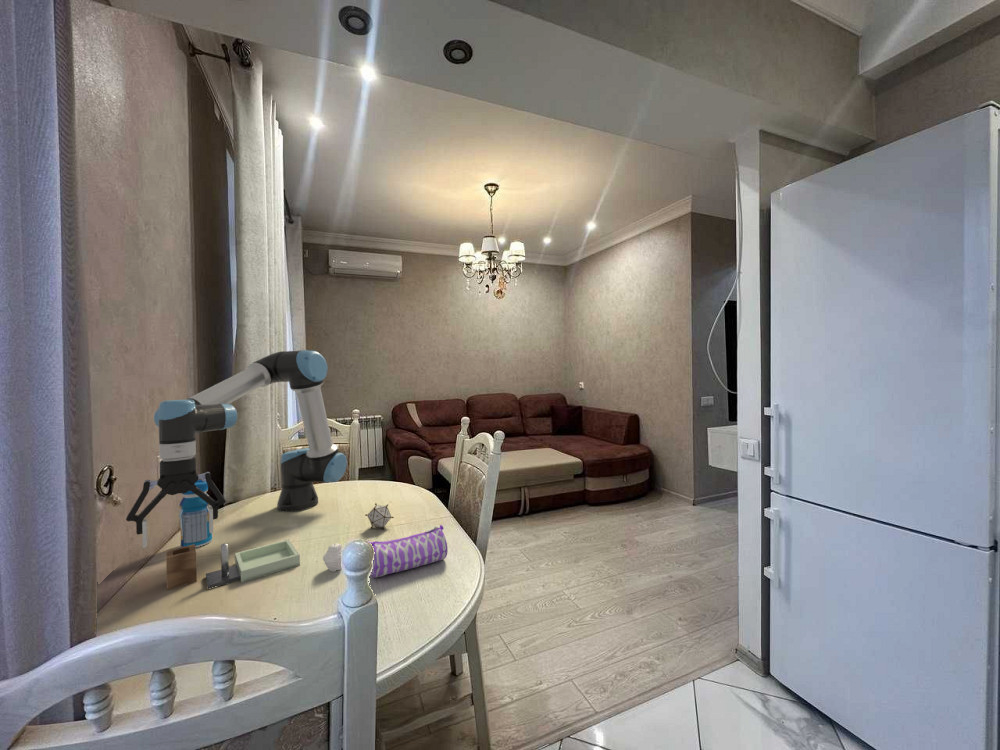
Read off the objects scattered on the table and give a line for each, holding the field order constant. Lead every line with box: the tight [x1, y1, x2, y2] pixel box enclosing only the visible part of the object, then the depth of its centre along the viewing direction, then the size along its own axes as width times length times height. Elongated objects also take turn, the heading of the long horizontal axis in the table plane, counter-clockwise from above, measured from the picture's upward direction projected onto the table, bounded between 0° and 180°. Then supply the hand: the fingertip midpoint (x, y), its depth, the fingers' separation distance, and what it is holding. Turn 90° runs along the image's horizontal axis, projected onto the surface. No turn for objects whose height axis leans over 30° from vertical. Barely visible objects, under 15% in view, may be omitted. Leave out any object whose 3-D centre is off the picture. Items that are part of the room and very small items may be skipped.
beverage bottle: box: [178, 479, 213, 549], centre depth 129 cm, size 8×8×20 cm
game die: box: [364, 502, 395, 531], centre depth 139 cm, size 9×8×10 cm
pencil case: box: [366, 524, 449, 579], centre depth 110 cm, size 22×9×10 cm, turn 124°
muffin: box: [322, 543, 344, 572], centre depth 110 cm, size 6×6×7 cm
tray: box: [234, 539, 301, 583], centre depth 114 cm, size 14×14×3 cm
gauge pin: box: [205, 542, 241, 590], centre depth 106 cm, size 8×8×9 cm
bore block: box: [165, 544, 198, 590], centre depth 105 cm, size 6×6×8 cm
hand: (179, 538), depth 105 cm, fingers open, 13 cm apart
